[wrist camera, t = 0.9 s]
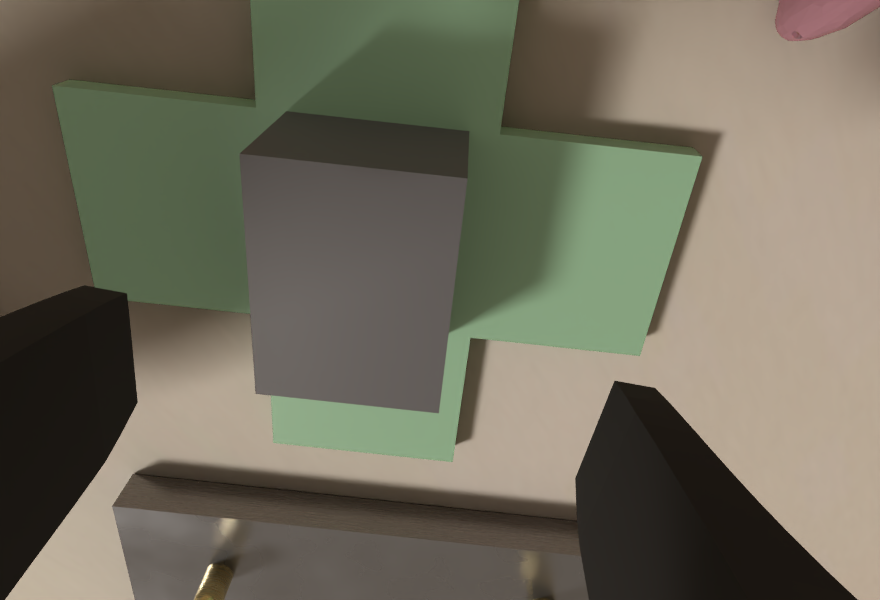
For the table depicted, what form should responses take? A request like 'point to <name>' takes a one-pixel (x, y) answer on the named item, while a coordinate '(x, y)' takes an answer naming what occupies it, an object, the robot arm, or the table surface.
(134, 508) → the chassis
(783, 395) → the table surface
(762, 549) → the robot arm
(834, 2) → the video game controller
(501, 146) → the board
